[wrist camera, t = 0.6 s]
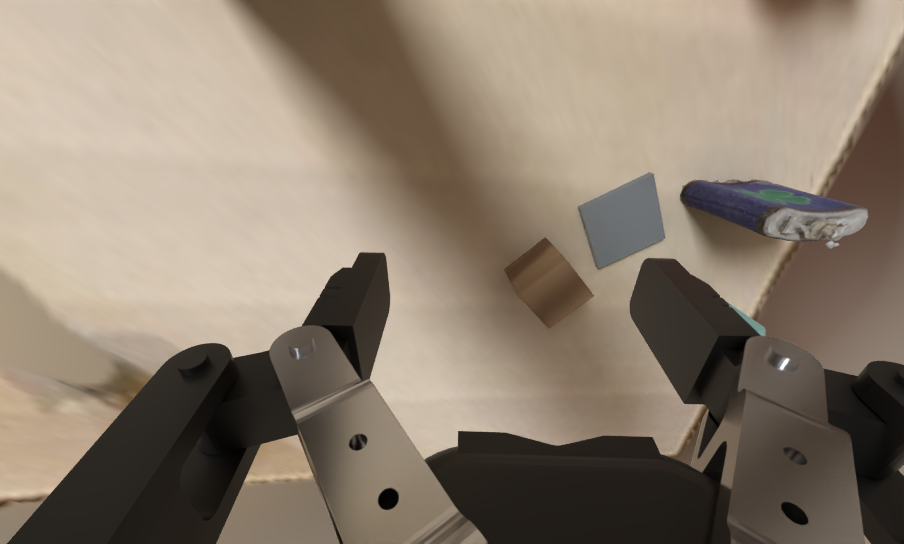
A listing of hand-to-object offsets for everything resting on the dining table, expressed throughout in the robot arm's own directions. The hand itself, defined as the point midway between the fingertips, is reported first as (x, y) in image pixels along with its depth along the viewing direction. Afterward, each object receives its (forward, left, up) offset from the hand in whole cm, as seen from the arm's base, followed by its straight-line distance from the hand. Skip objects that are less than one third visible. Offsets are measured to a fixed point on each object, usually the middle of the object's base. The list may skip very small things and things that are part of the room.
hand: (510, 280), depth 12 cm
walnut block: (+14, +4, -21) cm, 26 cm away
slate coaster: (+13, +13, -22) cm, 28 cm away
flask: (+15, +23, -21) cm, 35 cm away
